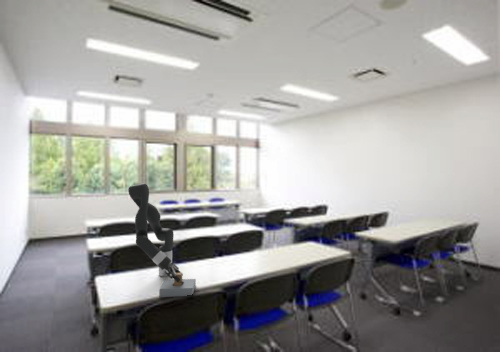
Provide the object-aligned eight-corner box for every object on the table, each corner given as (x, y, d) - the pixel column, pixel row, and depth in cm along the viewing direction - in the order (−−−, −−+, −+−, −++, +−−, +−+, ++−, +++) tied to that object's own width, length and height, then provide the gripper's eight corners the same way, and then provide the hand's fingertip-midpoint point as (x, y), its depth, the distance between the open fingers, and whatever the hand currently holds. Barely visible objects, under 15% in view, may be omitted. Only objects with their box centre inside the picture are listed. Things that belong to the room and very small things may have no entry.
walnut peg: (175, 288, 165) (175, 272, 166) (182, 288, 166) (182, 272, 166) (174, 290, 161) (174, 275, 162) (181, 290, 162) (181, 274, 162)
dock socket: (165, 286, 170) (165, 279, 170) (195, 285, 172) (195, 278, 172) (159, 296, 155) (159, 289, 155) (192, 295, 157) (192, 287, 157)
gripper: (163, 258, 156) (183, 278, 157) (168, 252, 171) (186, 270, 171) (153, 268, 156) (173, 287, 156) (160, 261, 170) (178, 278, 171)
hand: (180, 278), depth 164 cm, fingers open, 8 cm apart
